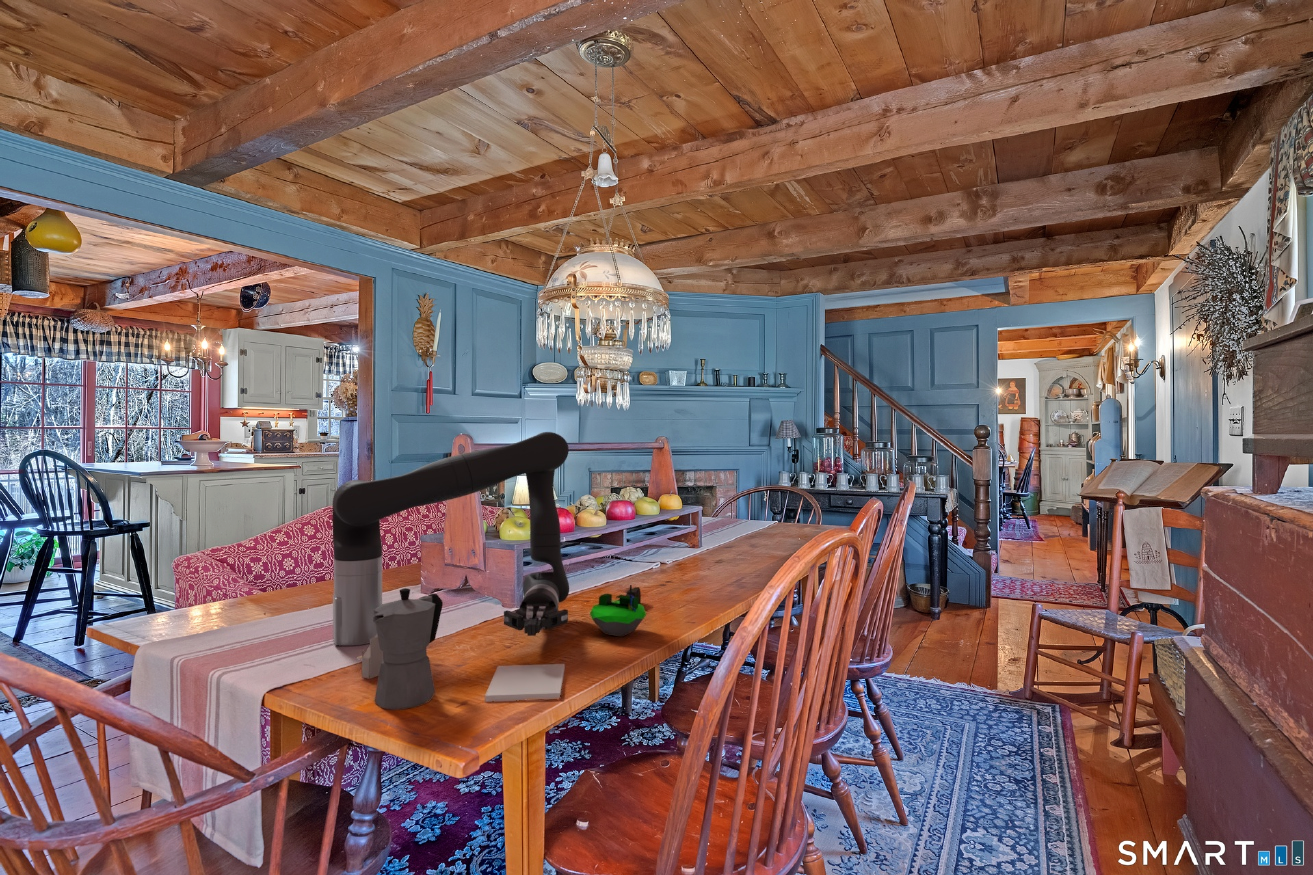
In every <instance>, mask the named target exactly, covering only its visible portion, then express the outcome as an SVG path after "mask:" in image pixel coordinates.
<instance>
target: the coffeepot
mask: <svg viewBox="0 0 1313 875" xmlns="http://www.w3.org/2000/svg"><path fill="white" fill-rule="evenodd" d="M410 592H411V589H410V588H407V587H405V588H401V589H400V590H399V595H400V599H398V600H394V601H390V602H386V603H382V605H380V606H379V607H377V608H376V609H374V617H373V618H372V619H373V622H375V623H376V629H377V635H378V641H379V647H380V650H381V651H383V661H382V663H381V666H380V671H379V675H378V676H377V684H376V690H375V696H374V700H373V701H374V703H375V704H376V705H377V707H380V708H382V709H385V710H393V711H394V710H395V711H396V710H399V711H400V710H407V709H412V708H416V707H419V706H422V705H425V704H427V703H428V702H430V701H431V700H433V697H434V696H435V693H436V690H435V684H434V679H433V673H432V672H433V671H432V667H431V663H430V657H429V656H428V655H427V647H429V644H431V643H433V642H434V641H435V640H436V637H437V632H438V630H439V629H438V628H439V623H440V619H441V615H442V614H441V613H442V609H443V605H444V604H443V600H442V599H441V597H440V596H439V594H437V593H430V594H428V595H424V596H421V597H419V598H418V599H414V598H410V595H411V594H410Z"/></svg>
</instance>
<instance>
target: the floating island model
mask: <svg viewBox="0 0 1313 875" xmlns="http://www.w3.org/2000/svg"><path fill="white" fill-rule="evenodd" d="M632 589H633V588H632V584H630V585H629V590H630V596H626V595H624V594H619V595H616V596H615V599H620V601H617V600H613V599H612V598H613V593H612V594H611V593H603V594H601V595H600V596H599V597H598V604H593V606H592V607H591V611H590V612H589V614H590V617H591V619H592V620H593V622H594V623H595V625H596V626H597V627H598V628H599V629H600V630H601V631H602V632H603V633H604V634H606V635H610V636H617V637H624V636H626V635H628V634H630V633H632V632H634V631H636V630H637V628H638V627H639V626H640V624H641V623H642V621H643V620H644V619H645V617H646V616H647V613H646V610H645V606H644V605H642V604H641V603H640V604H638V597H634V596H632Z"/></svg>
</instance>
